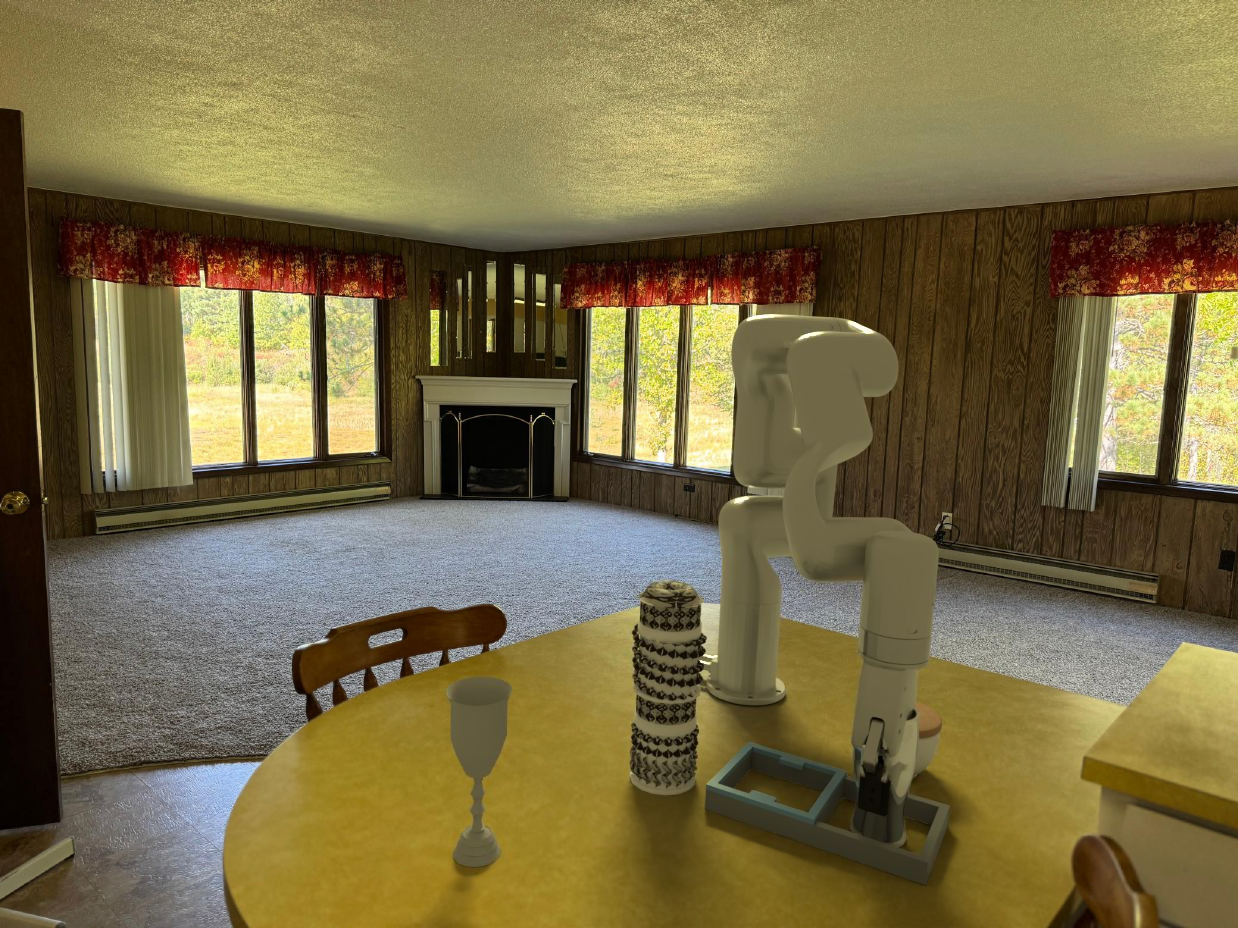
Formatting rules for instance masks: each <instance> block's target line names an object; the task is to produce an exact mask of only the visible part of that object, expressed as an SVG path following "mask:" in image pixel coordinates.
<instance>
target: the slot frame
mask: <svg viewBox="0 0 1238 928" xmlns="http://www.w3.org/2000/svg"><path fill="white" fill-rule="evenodd" d="M751 770H752V771H755V772H757V773H761V774H765V775H769V776H770V777H774V778H777V779H780V780H784V781H787V782H790V783H793V784H797V785H799V786H802V787H803V786H804V787H807V788H810V789H813V790H816V791H819V792H821V794H820V795H819V796H818V798H817V799H816V801H815V802H814V803H813V805H812V806H811V807H810V809H809V810H808V812H807V811H804V810H801V809H797V808H795V807H791V806H788V805H785V804H782V803H780V802H778V798H777V797H776V796H773V795H769V794H767V793H763V792H761V791H758V790H754V789H751V790H750V792H746V791H742V790H739V789H736V787H737V786H738V785H739V784H740V783H741V781H742V780H743V779H744V778H745V777H746V775H748V773H749V772H750V771H751ZM843 799H846V800H849V801H851V802H855V803H856V786H855V776H850V775H848V770H846V769H842V768H839V767H835V766H834V765H833V766H832V765H829V764H825V763H822V762H818V761H814V760H811V759H809V758H805V757H801V756H797V755H794V754H791V753H787V752H785V751H781V750H776V749H775V748H770V747H768V746H767V747H766V746H764V745H762V744H761V745H760V744H757V743H754V742H749V741H747V742H746V743H745V744H744V746H743V747H742V748H741V749H740V750H738V751H737V753H735V754H734V755H733V756H732V758H730V760H729V761H728V762H727V763H726V764H725V765H724V766H723V767H722V768H721V769H720V770H718V771H717V773H716V774H715V775H713V777H712V778H711V779H710V780H709V781H708V782H707V783H706V784H705V799H704V800H705V801H704V810H706V811H709V812H712V813H716V814H718V815H722V816H724V817H726V818H729V819H733V820H736V821H738V822H740V823H741V822H742V823H744V824H748V825H749V826H750V825H751V826H753V827H755V828H756V827H757V828H759V829H761V830H764V831H767V832H771V833H773V834H777V835H779V836H782V837H784V838H788V839H790V840H794V841H797V842H799V843H803V844H806V845H807V846H811V847H813V848H816V849H820V850H822V851H825V852H828V853H832V854H834V855H837V856H840V857H843V858H845V859H848V860H851V861H855V862H856V863H860V864H863V865H865V866H869V867H871V868H873V869H877V870H880V871H884V872H886V873H888V874H892V875H895V876H897V877H900V878H902V879H903V878H904V879H906V880H909V881H912V882H914V883H918V884H920V885H924V886H926V885H927V883H928V881H929V878H930V876H931V874H932V870H933V867H934V864H935V862H936V859H937V856H938V854H939V851H940V848H941V846H942V843H943V841H944V837H945V835H946V832H947V830H948V826H949V821H950V820H949V819H950V807H951V806H950V805H949V804H946V803H942V802H939V801H937V800H931V799H929V798H925V797H922V796H918V795H914V794H911V793H908V797H907V800H906V805H905V813H904V818H905V819H910V820H913V821H917V822H920V823H922V824H926V825H929V826H930V828H929V831H928V834H927V836H926V839H925V842H924V843H923V846H922V849H921V851H920V853H915V852H913V851H909V850H907V849H904V848H901V847H899V848H898V847H895V846H892V845H889V844H886V843H883V842H880V841H877V840H874V839H871V838H867V837H864V836H861V835H858V834H855V833H852V832H851V831H850V830H849V831H848V830H846V829H842V828H840V827H836V826H833V825H830V824H828V821H829V820H830V818H831V817H832V816H833V815H834V812H835V811H836V810H837V808H838V806H839V804H840V803H841V801H842V800H843Z"/></svg>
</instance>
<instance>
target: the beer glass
mask: <svg viewBox="0 0 1238 928" xmlns="http://www.w3.org/2000/svg"><path fill="white" fill-rule="evenodd" d="M866 738H867V737H866ZM865 744H866V739H865V742H864V743H863V745H862V746H861V748H859V747H858V748H854V747H853V746H852V748H851V749H852V764H853V773H854V776H853V777H854V778H855V786H856V802H855V804H854V805H855V806H854V809H853V814H852V817H851V820H850V824H849V832H852V833H855V834H858V835H861V836H864V837H867V838H871V839H874V840H877V841H880V842H883V843H886V844H889V845H892V846H895V847H898V848H901V847H903V846H904V845H905V843H906V841H907V832H906V831H907V830H906V822H905V819H906V818H905V817H904V813H905V805H906V800H907V797H908V794H910V789H911V786H912V782H913V781H914V780H913V779H914V778H913V776H914V772H915V768H916V764H917V757H918V747H919V712H918V710H917V709H916V708H915V707H914V712H913V719H910V720H907V721H906V723H905V729H904V734H903V738H902V742H901V746H900V749H899V753H898V754H897V755H896V756H894V757H892V758H891V766H890V772H889V778H888V780H891V789H890V801H889V812H888V814H887V816H881V815H878V814H874V813H871V812H868V811H865V810H862V809H860V808H859V807H858V794H859V782H860V773H861V767H862V759H863V754H864V749H865ZM880 750H881V751H885V752H887V750H888V747H887V746H886V743H885V740H884V734H883V738H882V742H881V746H880ZM884 759H885V758H884V757H881V756H878V763H881V765H882V767H883V765H884Z"/></svg>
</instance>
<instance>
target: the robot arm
mask: <svg viewBox="0 0 1238 928" xmlns="http://www.w3.org/2000/svg"><path fill="white" fill-rule="evenodd" d="M730 352H731V353H730V354H731V355H730V356H731V357H730V358H731V367H732V372H733V379H734V382H735V386H736V395H737V407H736V417H735V430H734V431H735V432H734V442H733V444H734V445H733V458H732V459H733V464H732V465H733V467H732V468H733V474H734V477H735V480H736V481H737V482H738V483H739V484H740V485H742V486H744V487H747V488H750V489H751V488H752V489H761V490H762V489H766V490H768V489H770V490H774V489H775V490H779V489H780V490H783V491H784V492H783V495H745V496H738V497H735V498H733V499H731V500H729V501H727V502H726V503H724V505H723V506H722V507H721V509H720V511H719V514H718V534H719V543H720V553H721V581H720V582H721V584H720V604H719V606H720V607H719V621H718V622H719V623H718V640H717V654H715V655H709V654H708V653H705V654H704V655H703V656H701V657H699V658H698V660H700V661H701V663H703V664H704V668H703V670H702V671H708V673H709V674H708V675H707V677H706V680H705V681H706V683H705V686H706V690H707V691H708V692H709V693H710V694H711V695H713V696H714V697H716V698H718V699H719V700H722V701H723V702H724V701H725V702H728V703H732V704H737V705H743V706H766V705H771V704H775V703H777V702H779V701H781V700H782V699H783V698H784V697H785V695H786V684H784V682H783V681H782V680H781V679H780V678H779V677H777V671H778V670H777V669H778V655H779V641H780V640H779V638H780V627H781V626H780V623H781V612H782V611H781V610H782V595H783V594H782V593H783V591H782V590H783V588H782V582H781V579H780V577H779V576H778V574H777V572H776V571H775V570H774V568H773V567H772V565H771V564H770V562H769V560H770V558H778V557H791V558H792V562H793V565H794V566H795V567H794V568H796V570H797V571H798V572H799V574H800V575H801V576H802V577H803V578H804V579H806V580H808V581H810V582H813V583H828V584H829V583H856V582H857V583H859V582H862V589H861V603H860V604H861V605H860V612H859V613H860V615H859V627H858V628H859V629H858V638H857V639H858V641H857V655H858V656H859V657H860V658H861V659H862V665H861V670H860V674H859V679H858V685H857V692H856V699H855V707H854V715H853V723H852V730H851V738H850V739H851V740H850V743H851V746H852V748H853V747H854V748H858V747H859V748H861V746H862V745H863V743H864V742H865V739H866V744H865V749H864V754H863V759H862V767H861V773H860V782H859V794H858V807H859V808H860V809H862V810H865V811H868V812H871V813H874V814H878V815H881V816H887V814H888V812H889V801H890V789H891V780H888V778H889V772H890V766H891V758H892V757H894V756H896V755H897V754H898V753H899V749H900V746H901V742H902V738H903V734H904V729H905V723H906V721H907V720H910V719H913V712H914V707H916V702H917V697H918V696H917V695H918V683H919V670H920V669H922V668H926V667H927V666H929V664H930V656H931V647H932V646H931V643H932V633H933V632H932V631H933V624H934V623H933V621H934V614H935V613H934V612H935V610H934V609H935V604H936V603H935V602H936V591H937V579H938V570H939V569H938V567H939V557H940V556H939V555H940V553H939V547H938V544H937V543H936V542H935V540H933V539H932V538H931V537H929V536H927V535H924V534H923V533H922V534H921V533H917V532H913V531H912V530H911V529H909V527H907V525H905V524H904V523H903V522H901V521H900V520H898V519H894V518H890V517H882V516H881V517H859V516H858V517H853V516H850V517H846V516H842V517H841V516H838V517H837V516H836V517H833V513H834V505H835V504H834V503H835V495H836V494H835V493H836V483H837V472H838V464H841V463H844V462H846V461H848V460H850V459H852V458H854V457H856V456H858V455H859V454H861V453H862V452H863V451H865V450H866V449H867V448H868V447H869V446H870V445H871V443H872V441H873V438H874V431H873V427H872V423H871V421H870V417H869V413H868V409H867V406H866V402H865V398H877V397H879V398H880V397H882V396H885V395H887V394H889V393H890V392H891V391H892V389H893V388H894V387H895V385H896V383H897V380H898V376H899V360H898V356H897V352H896V350H895V347H894V346H893V345H892V343H891V341H889V339H888V338H887V337H886V336H884V335H883V334H881V333H880V332H877V331H876V330H873V329H871V328H869V327H866V326H864V325H862V324H860V323H857V322H855V321H852V320H850V319H847V318H840V317H832V316H831V317H827V316H814V315H813V316H812V315H811V316H809V315H807V316H806V315H797V314H761V315H755V316H750V317H747V318H745V319H744V320H742V321H741V322H740V323H739V324H738V326H737V327H736V328H735V331H734V334H733V338H732V343H731V351H730ZM783 375H788V379H789V383H790V386H789V384H788V383H787V381H786V379H785V378H784V377H783ZM790 387H791V388H790ZM794 408H795V410H796V415H797V419H798V424H799V427H794V426H793V422H794V419H793V418H794ZM883 734H884V740H885V743H886V746H887V747H888V750H887V752H885V751H881V750H880V746H881V742H882V738H883ZM866 737H867V738H866ZM878 756H881V757H884V758H885V759H884V765H883V767H882V765H881V763H878Z"/></svg>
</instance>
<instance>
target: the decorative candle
mask: <svg viewBox="0 0 1238 928" xmlns="http://www.w3.org/2000/svg"><path fill="white" fill-rule="evenodd" d="M637 599H638V600H639V601H640V607H639V618H638V620H637V624H635V625H634V627H633V630H632V631H631V635H632V639H633V641H634V642H633V644H634V645H633V646H632V647H631V651H632V652H633V657H632V658H631V661H632V668H634V670H633V673H632V679H633V685H632V689H633V691H634V693H635V695H636V698H635V699H636V700H635V709H634V714H633V722H631V732H632V734H631V735H630V739H631V744H632V745H631V747H629V754H630V759H629V768H630V772H629V779H630V781H631V783H632V785H633V786H635V787H636V788H637V789H639V790H640V791H643V792H646V793H649V794H651V795H660V796H673V795H675V796H676V795H681V794H684V793H686V792H689V791H691V789H692V788H693V787H694V786H696V779H697V774H696V771H698V767H697V760H698V758H699V755H698V750H697V748H698V747H697V746H698V745H699V741H698V734H699V733H700V729H699V725H698V724H697V719H698V712H697V698H698V697H700V696H701V695H700V694H701V686H700V685H701V684H702V682H703V681H704V676H702V674H701V673H700V672H702V671H704V670H703V668H704V664H703V663H701V661H700V660H698V658H699V657H701V656H703V655H704V654H706V653H707V650H706V648H705V647H704V646H703V645H704V644H705V643H706V642H707V639H708V637H707V635H705V634H704V633H703V632H702V629H703V628H702V627H703V624H702V623H703V622H702V621H701V616H702V604H704V601H705V600H704V597H703V596H701V595H700V594H698V591H697V590H696V589H695V588H694V586H692V585H691V584H688V583H686V582H682V581H677V580H658V581H654V582H652V583H649V585H647V587H646V588H645V590H644V591H643V592H640V593H639V594H638V596H637Z"/></svg>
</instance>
